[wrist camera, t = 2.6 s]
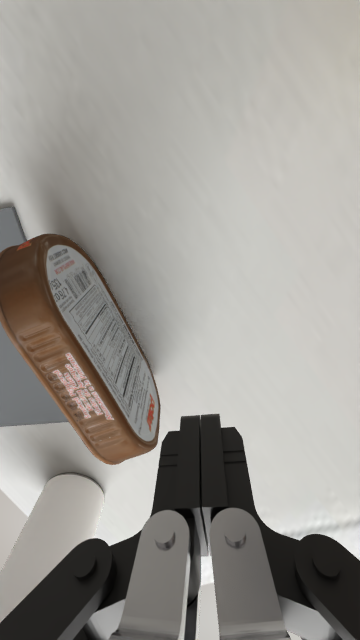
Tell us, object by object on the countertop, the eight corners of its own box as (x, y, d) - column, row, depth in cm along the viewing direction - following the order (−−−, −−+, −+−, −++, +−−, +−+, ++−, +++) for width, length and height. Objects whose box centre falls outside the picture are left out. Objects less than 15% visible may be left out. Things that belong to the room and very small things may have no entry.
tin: (42, 236, 19) (-60, 270, 12) (82, 218, 18) (1, 240, 11) (139, 401, 25) (113, 497, 17) (172, 392, 24) (160, 487, 17)
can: (81, 517, 32) (22, 683, 22) (34, 488, 31) (-56, 653, 20) (118, 494, 30) (74, 666, 19) (70, 461, 28) (-9, 630, 18)
